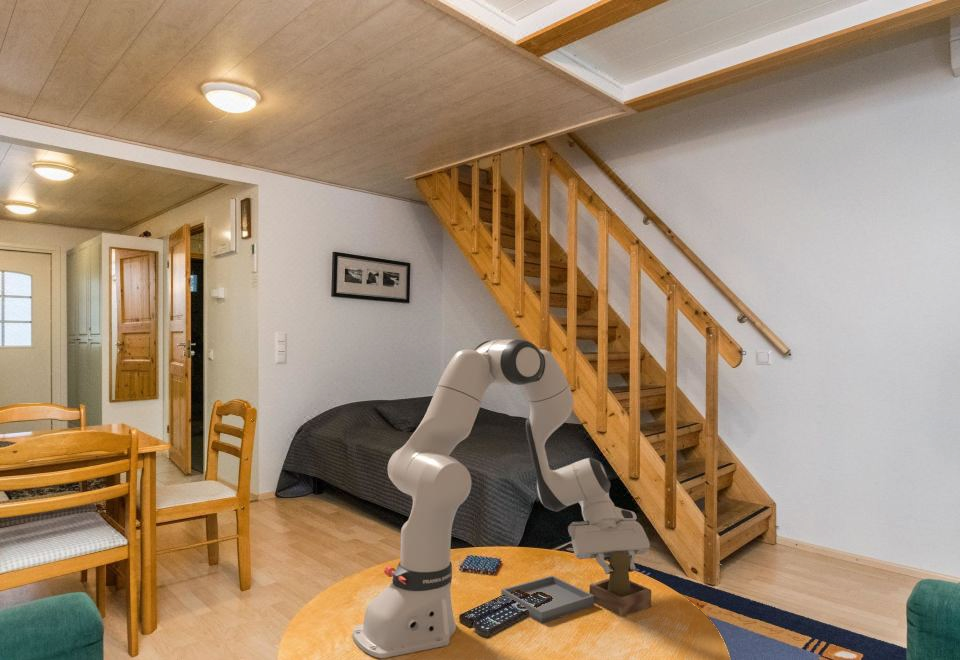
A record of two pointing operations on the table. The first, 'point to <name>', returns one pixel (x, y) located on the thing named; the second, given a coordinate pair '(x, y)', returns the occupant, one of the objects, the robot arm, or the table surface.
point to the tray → (563, 596)
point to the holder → (621, 598)
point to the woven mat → (480, 564)
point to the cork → (619, 574)
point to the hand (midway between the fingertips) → (620, 571)
